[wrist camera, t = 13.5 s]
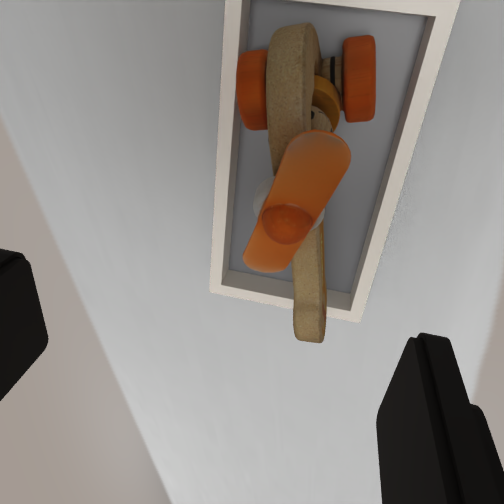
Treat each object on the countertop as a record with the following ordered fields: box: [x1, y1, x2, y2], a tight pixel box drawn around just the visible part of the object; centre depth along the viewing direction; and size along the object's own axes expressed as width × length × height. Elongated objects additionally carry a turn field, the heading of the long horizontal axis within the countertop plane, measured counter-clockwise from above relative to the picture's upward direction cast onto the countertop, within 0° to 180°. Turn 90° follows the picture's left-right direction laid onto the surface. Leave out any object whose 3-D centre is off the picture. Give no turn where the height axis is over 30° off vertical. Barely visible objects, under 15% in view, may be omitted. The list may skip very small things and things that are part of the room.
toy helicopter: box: [236, 23, 376, 343], centre depth 25 cm, size 8×21×14 cm, turn 7°
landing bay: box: [209, 0, 461, 323], centre depth 30 cm, size 23×13×4 cm, turn 174°
